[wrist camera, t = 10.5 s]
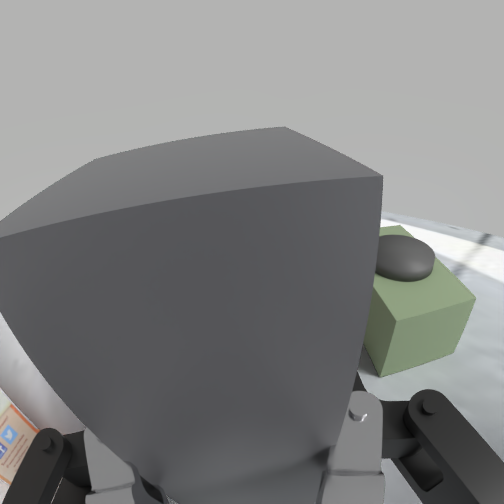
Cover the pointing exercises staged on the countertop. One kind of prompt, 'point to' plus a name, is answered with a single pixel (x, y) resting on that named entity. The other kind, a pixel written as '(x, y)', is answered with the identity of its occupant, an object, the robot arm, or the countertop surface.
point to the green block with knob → (413, 305)
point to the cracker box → (13, 437)
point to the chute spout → (202, 306)
